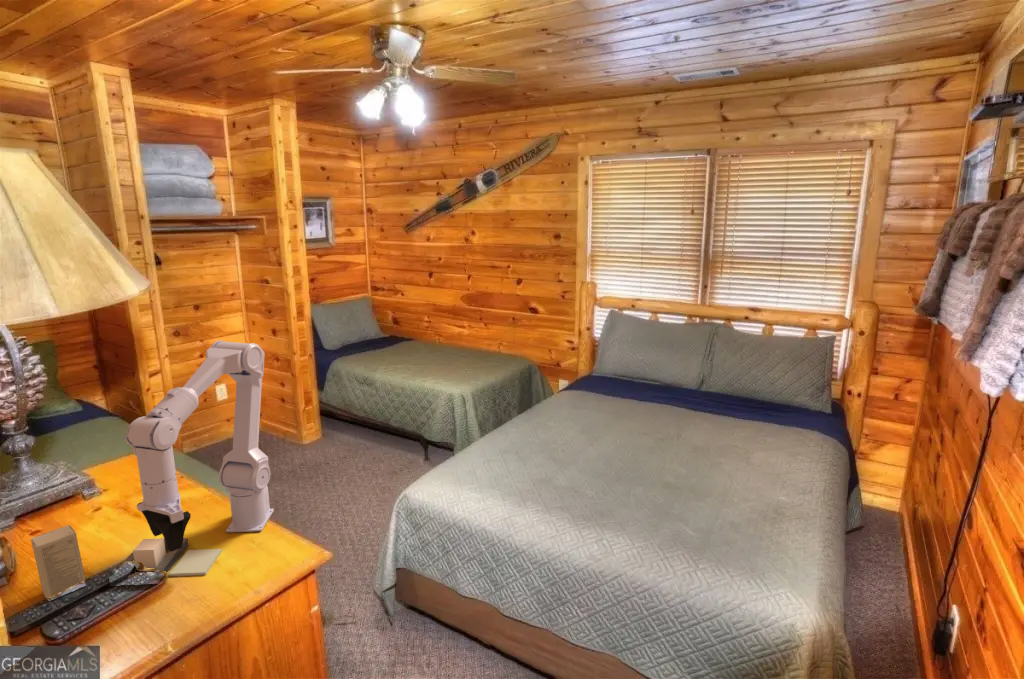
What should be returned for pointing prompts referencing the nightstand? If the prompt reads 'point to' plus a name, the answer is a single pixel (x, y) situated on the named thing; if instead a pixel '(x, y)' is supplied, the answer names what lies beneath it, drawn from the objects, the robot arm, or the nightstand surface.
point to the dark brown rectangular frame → (165, 558)
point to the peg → (150, 552)
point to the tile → (196, 562)
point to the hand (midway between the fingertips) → (167, 541)
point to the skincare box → (58, 560)
